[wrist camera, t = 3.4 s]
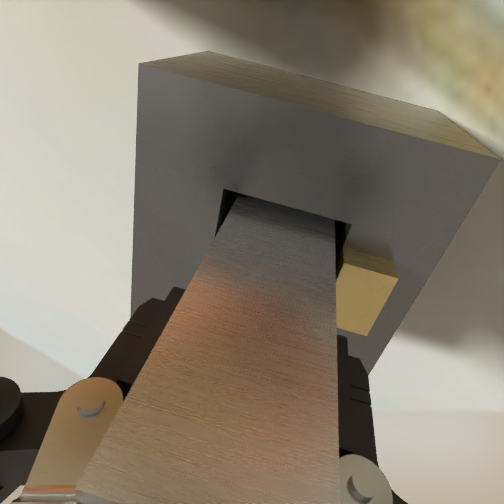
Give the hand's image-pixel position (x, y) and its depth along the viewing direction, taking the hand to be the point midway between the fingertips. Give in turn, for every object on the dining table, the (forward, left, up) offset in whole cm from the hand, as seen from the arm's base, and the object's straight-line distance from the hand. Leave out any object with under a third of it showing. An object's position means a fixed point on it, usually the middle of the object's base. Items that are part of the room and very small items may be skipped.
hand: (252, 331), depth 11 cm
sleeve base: (0, 0, -12) cm, 12 cm away
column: (0, 0, -12) cm, 12 cm away
